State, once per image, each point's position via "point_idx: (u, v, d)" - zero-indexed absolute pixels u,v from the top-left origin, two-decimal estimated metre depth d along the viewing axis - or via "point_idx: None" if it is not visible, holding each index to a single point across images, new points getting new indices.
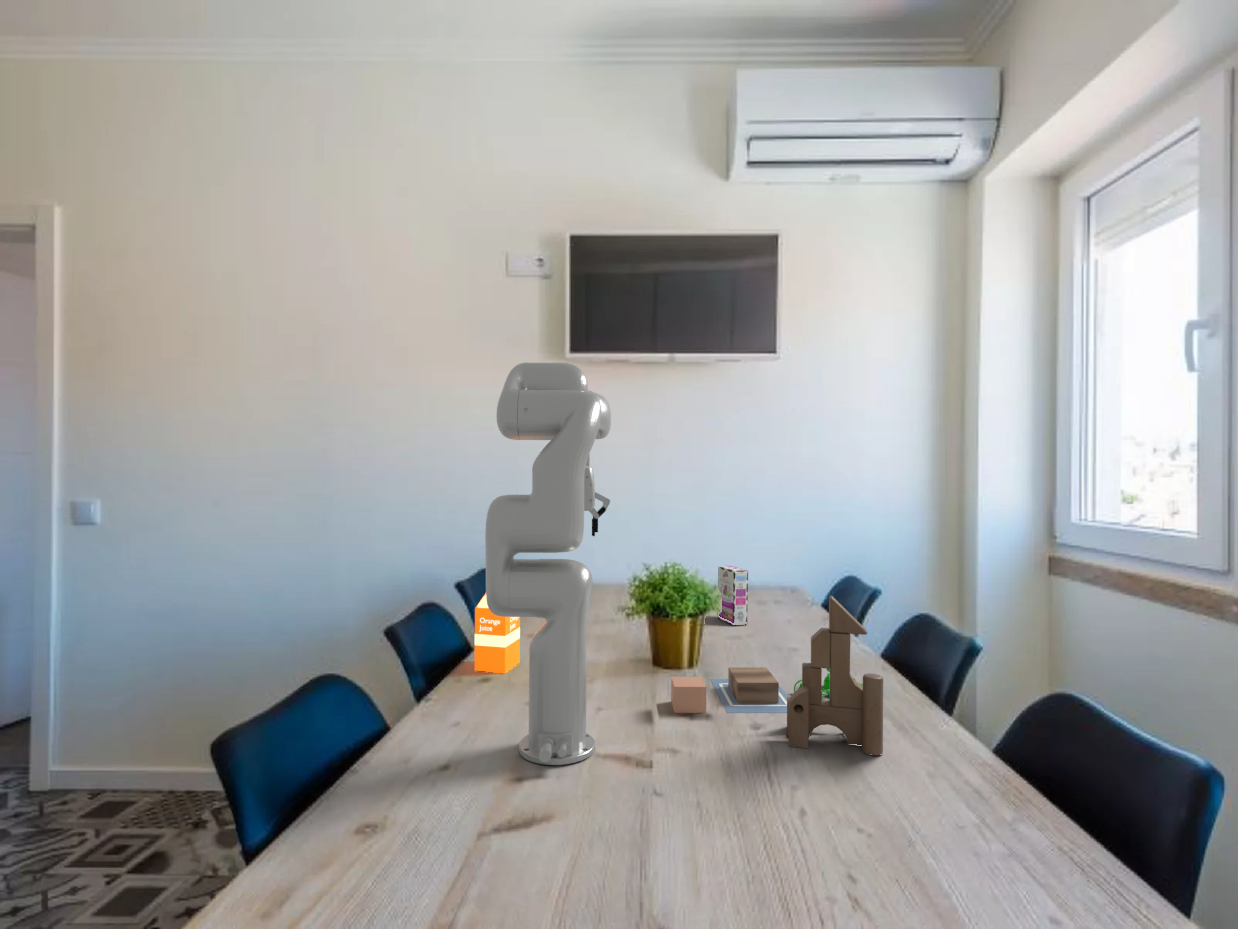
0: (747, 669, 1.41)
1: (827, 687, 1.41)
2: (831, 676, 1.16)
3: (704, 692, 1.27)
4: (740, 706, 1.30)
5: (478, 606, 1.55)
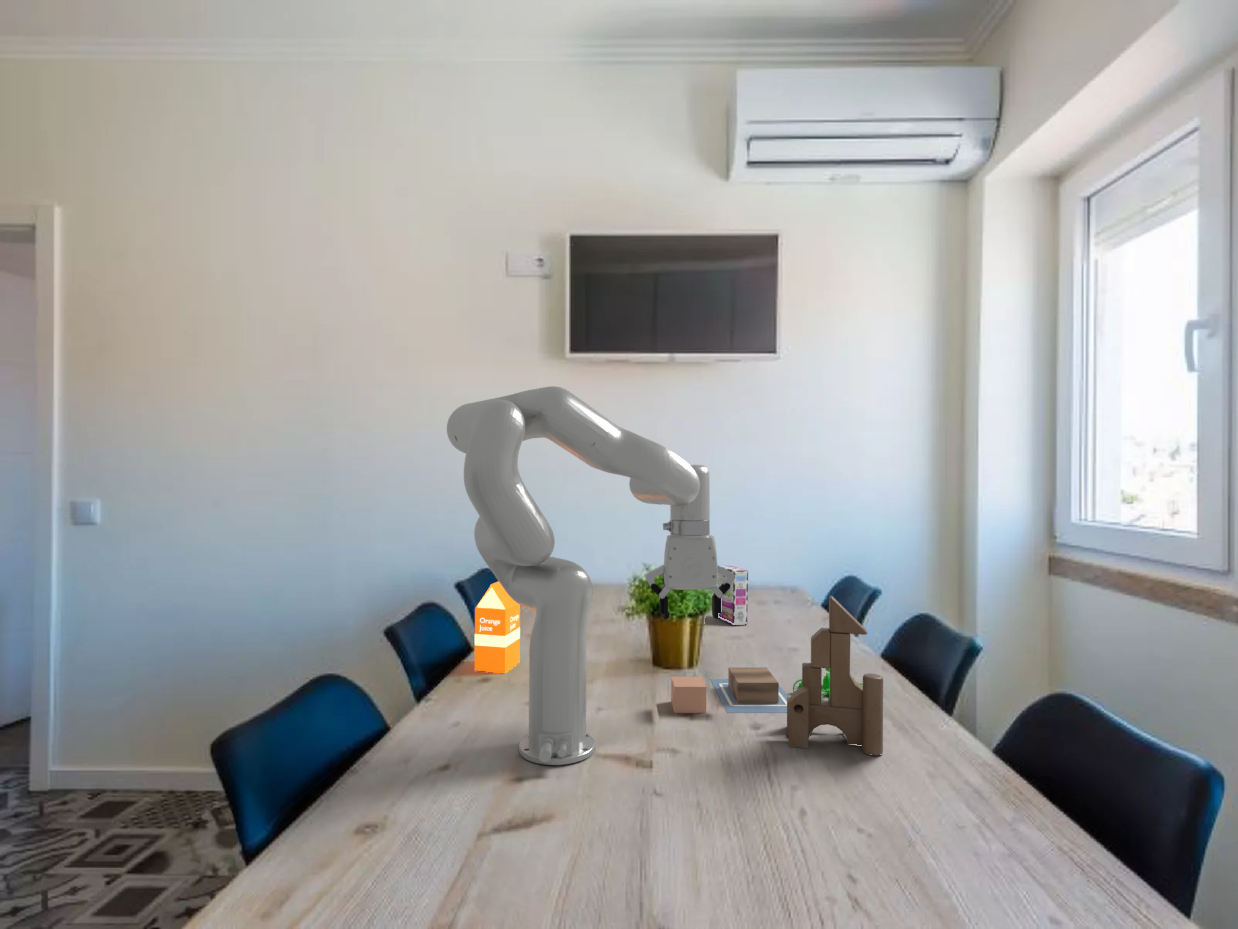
0: (747, 669, 1.41)
1: (826, 686, 1.41)
2: (831, 676, 1.16)
3: (704, 692, 1.27)
4: (740, 706, 1.30)
5: (478, 606, 1.55)
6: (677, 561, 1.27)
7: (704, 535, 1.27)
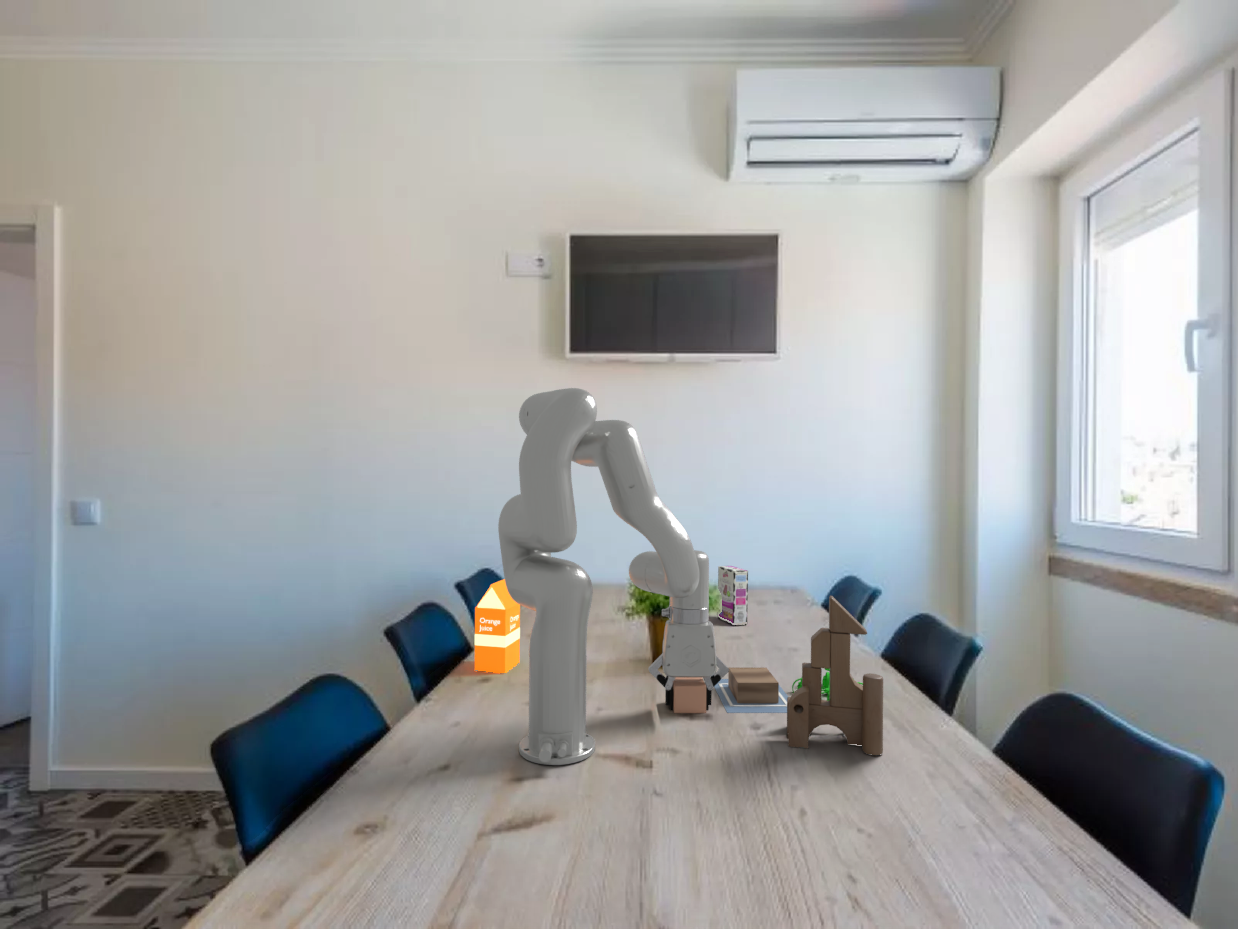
0: (747, 669, 1.41)
1: (825, 686, 1.42)
2: (831, 676, 1.16)
3: (704, 692, 1.27)
4: (740, 706, 1.30)
5: (478, 606, 1.55)
6: (676, 649, 1.27)
7: (702, 623, 1.27)
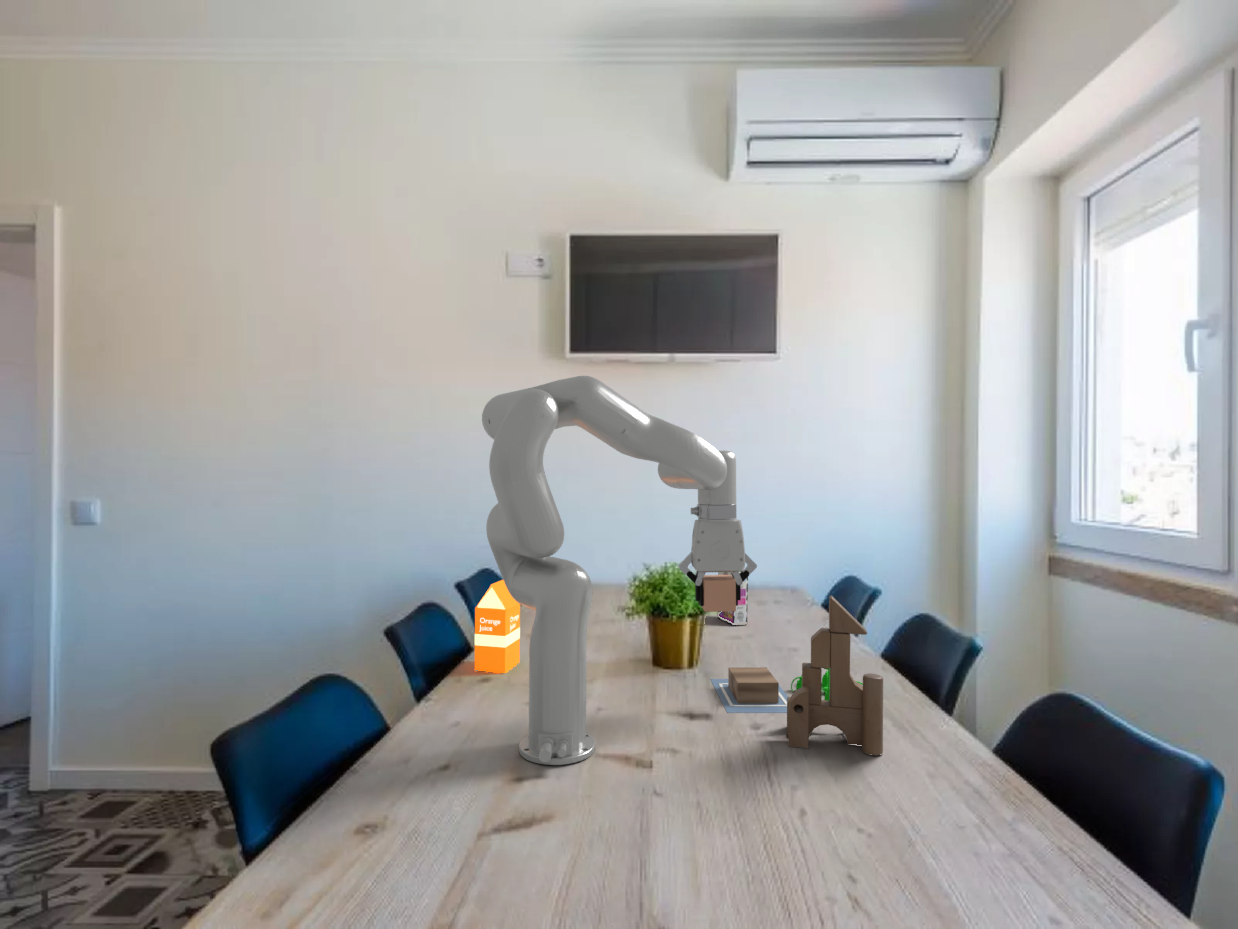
0: (747, 669, 1.41)
1: (825, 685, 1.43)
2: (831, 676, 1.16)
3: (734, 585, 1.30)
4: (740, 706, 1.30)
5: (478, 606, 1.55)
6: (705, 544, 1.30)
7: (731, 519, 1.30)
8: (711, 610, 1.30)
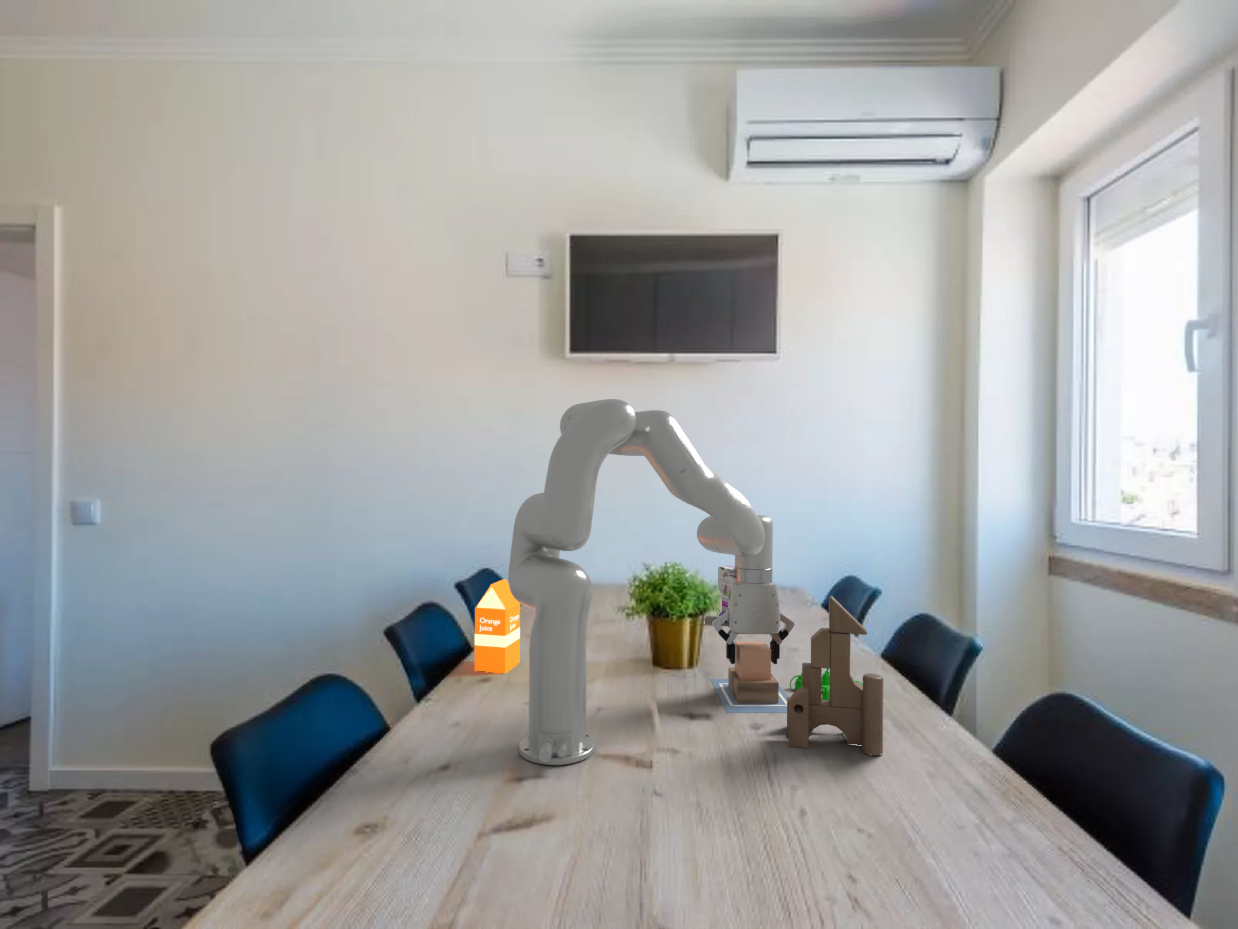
0: None
1: (824, 683, 1.44)
2: (831, 676, 1.16)
3: (769, 654, 1.34)
4: (740, 706, 1.30)
5: (478, 606, 1.55)
6: (742, 607, 1.34)
7: (768, 582, 1.35)
8: (747, 678, 1.34)
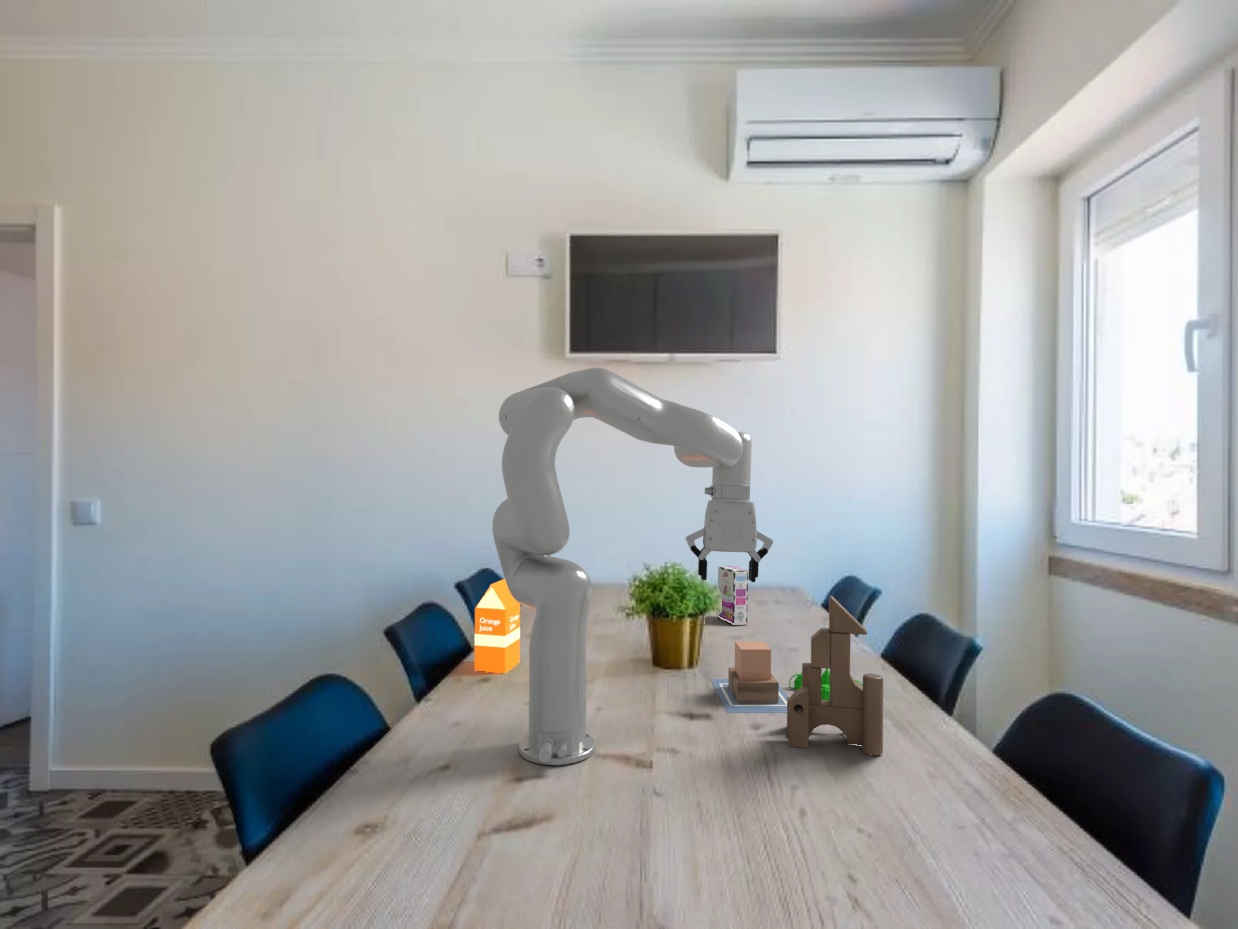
0: None
1: (824, 682, 1.44)
2: (831, 676, 1.16)
3: (769, 654, 1.34)
4: (740, 706, 1.30)
5: (478, 606, 1.55)
6: (718, 524, 1.32)
7: (744, 499, 1.32)
8: (747, 678, 1.34)
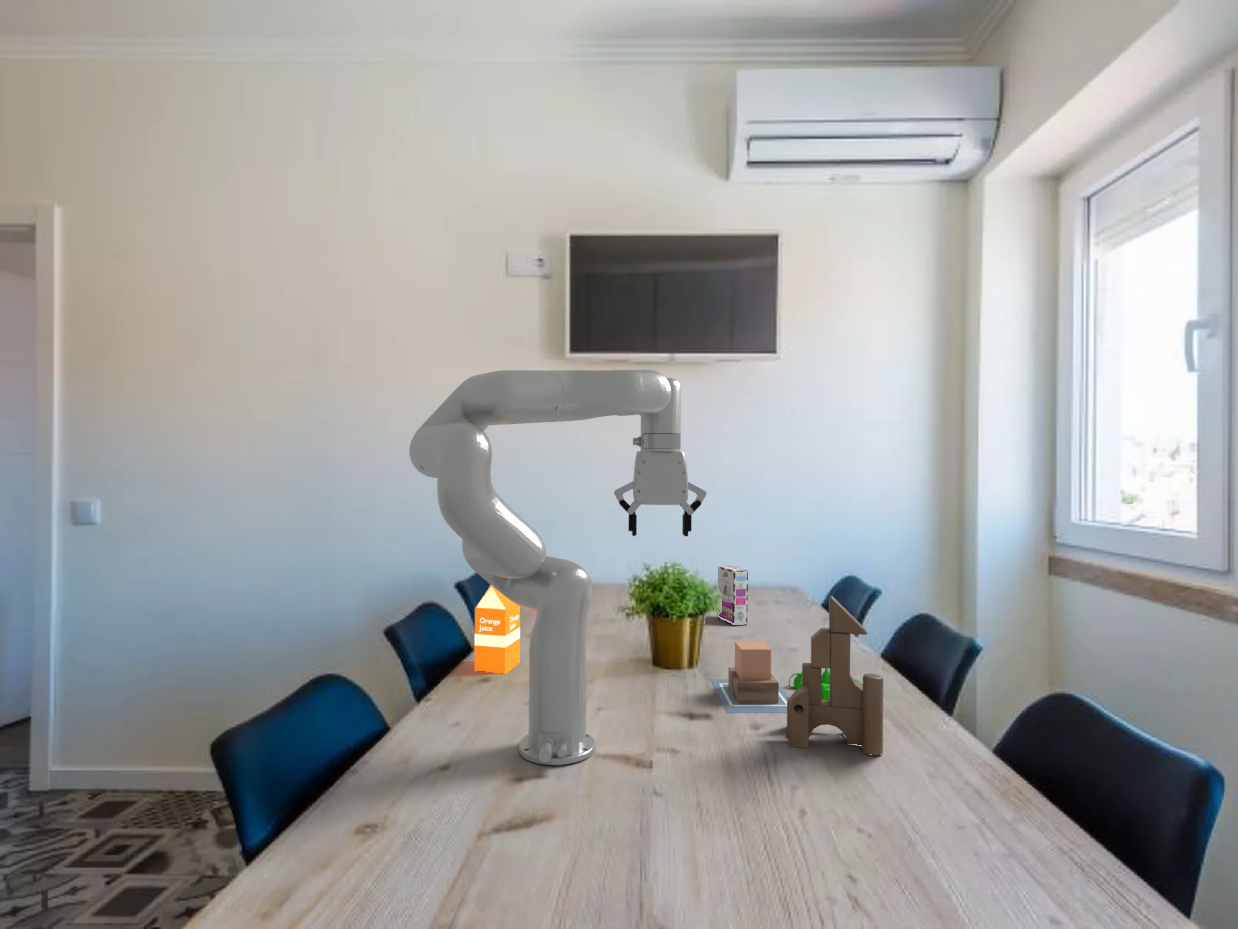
0: None
1: (824, 682, 1.45)
2: (831, 676, 1.16)
3: (769, 654, 1.34)
4: (740, 706, 1.30)
5: (478, 606, 1.55)
6: (646, 475, 1.24)
7: (674, 448, 1.24)
8: (747, 678, 1.34)
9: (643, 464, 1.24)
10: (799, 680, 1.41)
